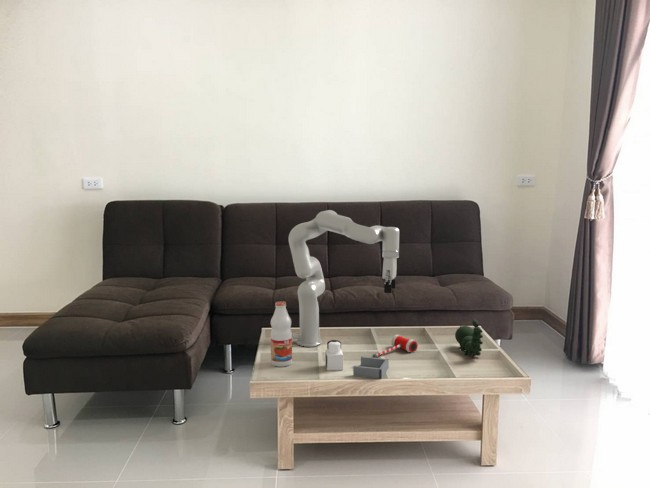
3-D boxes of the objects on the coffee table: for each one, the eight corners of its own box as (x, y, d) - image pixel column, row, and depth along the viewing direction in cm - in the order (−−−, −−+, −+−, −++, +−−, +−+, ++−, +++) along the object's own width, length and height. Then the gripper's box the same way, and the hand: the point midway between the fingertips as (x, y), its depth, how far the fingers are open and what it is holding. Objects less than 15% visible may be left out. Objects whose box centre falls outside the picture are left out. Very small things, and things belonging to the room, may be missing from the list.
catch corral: (353, 375, 246) (353, 366, 246) (361, 365, 259) (361, 356, 258) (381, 378, 243) (381, 369, 242) (388, 367, 255) (388, 359, 255)
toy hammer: (382, 362, 264) (382, 348, 263) (365, 355, 273) (365, 342, 272) (418, 351, 277) (418, 338, 276) (400, 345, 287) (400, 333, 286)
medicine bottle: (325, 365, 259) (325, 339, 258) (341, 364, 260) (341, 338, 258) (326, 370, 252) (326, 344, 250) (343, 370, 253) (343, 343, 251)
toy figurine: (486, 363, 265) (468, 341, 289) (489, 324, 261) (471, 305, 285) (466, 364, 264) (450, 342, 289) (468, 324, 260) (452, 305, 284)
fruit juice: (286, 358, 268) (285, 299, 264) (295, 364, 260) (295, 303, 256) (267, 362, 263) (266, 301, 259) (276, 368, 255) (275, 306, 251)
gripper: (386, 250, 277) (385, 286, 280) (378, 256, 261) (377, 294, 263) (402, 251, 275) (401, 287, 277) (395, 257, 259) (394, 295, 261)
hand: (389, 290), depth 270 cm, fingers open, 9 cm apart
